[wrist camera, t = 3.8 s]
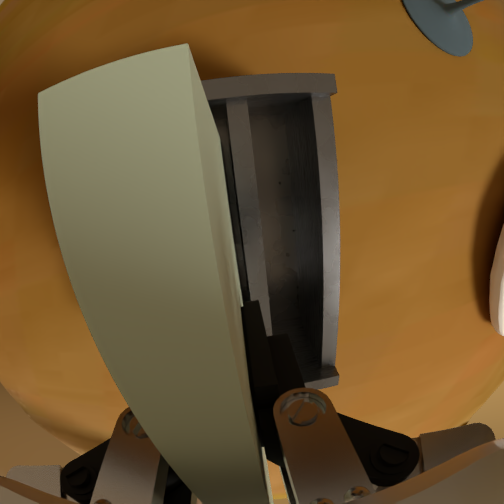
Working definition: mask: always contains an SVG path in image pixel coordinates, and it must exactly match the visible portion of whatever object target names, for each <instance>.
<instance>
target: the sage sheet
mask: <svg viewBox="0 0 504 504" xmlns="http://www.w3.org/2000/svg"><path fill="white" fill-rule="evenodd" d="M38 116H39V133H40V144H41V154H42V162H43V170H44V176H45V182H46V188H47V194H48V199H49V204H50V209H51V214H52V218H53V222H54V227H55V231H56V234H57V238H58V242H59V246H60V249H61V253H62V256H63V260H64V263H65V266H66V269H67V272H68V275H69V278H70V281H71V284H72V287H73V290H74V293H75V295H76V298H77V301H78V303H79V306H80V308H81V311H82V314H83V316H84V318H85V321H86V323H87V326H88V328H89V330H90V332H91V335H92V337H93V339H94V341H95V344H96V346H97V348H98V350H99V352H100V354H101V356H102V358H103V360H104V362H105V364H106V366H107V368H108V370H109V372H110V374H111V376H112V378H113V379H114V381H115V383H116V385H117V387H118V388H119V390H120V392H121V394H122V395H123V397H124V399H125V401H126V402H127V404H128V406H129V407H130V409H131V410H132V412H133V414H134V415H135V417H136V418H137V420H138V422H139V423H140V425H141V426H142V428H143V429H144V431H145V432H146V434H147V435H148V436H149V438H150V439H151V441H152V442H153V444H154V445H155V446H156V448H157V449H158V450H159V452H160V453H161V455H162V456H163V457H164V459H165V460H166V461H167V462H168V464H169V465H170V466H171V468H172V469H173V470H174V471H175V472H176V474H177V475H178V476H179V477H180V479H181V480H182V481H183V482H184V483H185V484H186V486H187V487H188V488H189V489H190V490H191V491H192V492H193V494H194V495H195V496H196V497H197V498H198V499H199V500H200V501H201V502H202V503H203V504H274V503H273V497H272V491H271V485H270V479H269V472H268V466H267V460H266V454H265V449H264V447H261V442H260V437H259V432H258V427H257V422H256V417H255V412H254V407H253V402H252V396H251V391H250V384H249V376H248V368H247V360H246V351H245V342H244V333H243V325H242V316H241V306H243V295H242V288H241V282H240V275H239V268H238V261H237V254H236V247H235V240H234V232H233V225H232V218H231V211H230V203H229V196H228V188H227V181H226V173H225V165H224V157H223V150H222V142H221V139H220V136H219V133H218V131H217V128H216V125H215V122H214V119H213V116H212V113H211V110H210V107H209V104H208V101H207V98H206V95H205V92H204V89H203V86H202V83H201V80H200V77H199V75H198V72H197V69H196V66H195V63H194V60H193V57H192V54H191V51H190V48H189V45H188V43H187V44H182V45H177V46H172V47H167V48H162V49H158V50H154V51H150V52H146V53H142V54H138V55H135V56H131V57H128V58H124V59H121V60H118V61H115V62H112V63H109V64H106V65H103V66H100V67H97V68H94V69H92V70H89V71H87V72H84V73H81V74H79V75H76V76H74V77H72V78H69V79H67V80H65V81H63V82H60V83H58V84H56V85H54V86H52V87H50V88H48V89H46V90H44V91H42V92H40V93H38Z"/></svg>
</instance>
